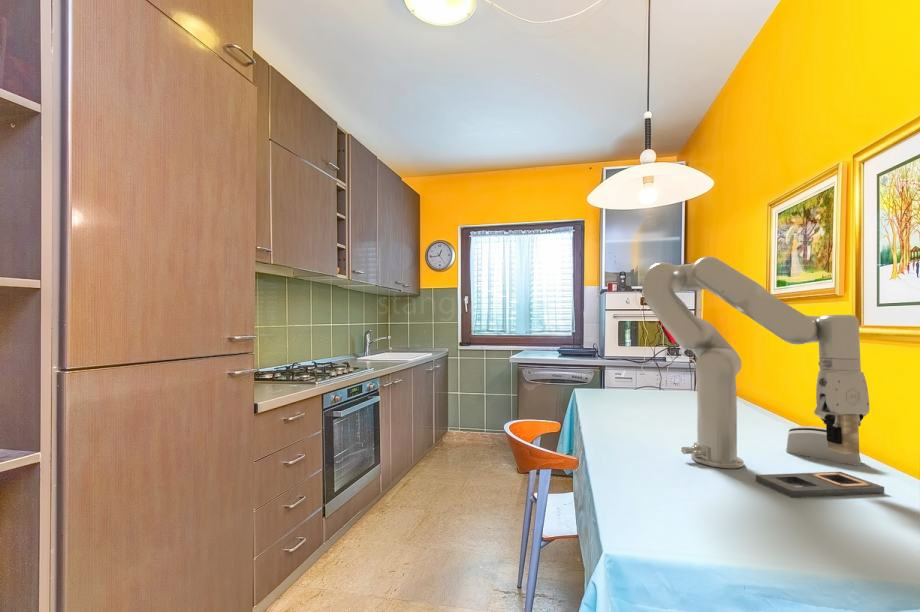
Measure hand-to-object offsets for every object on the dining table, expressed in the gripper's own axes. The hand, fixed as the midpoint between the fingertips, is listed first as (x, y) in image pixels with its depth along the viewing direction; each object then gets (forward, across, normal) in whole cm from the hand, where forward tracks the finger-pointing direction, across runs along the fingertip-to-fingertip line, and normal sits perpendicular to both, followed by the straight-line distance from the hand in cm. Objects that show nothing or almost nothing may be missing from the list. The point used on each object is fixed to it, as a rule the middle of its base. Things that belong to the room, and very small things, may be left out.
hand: (842, 441), depth 104 cm
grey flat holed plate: (+11, -7, +1) cm, 13 cm away
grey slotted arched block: (+11, +16, +20) cm, 28 cm away
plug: (+2, 0, 0) cm, 2 cm away
